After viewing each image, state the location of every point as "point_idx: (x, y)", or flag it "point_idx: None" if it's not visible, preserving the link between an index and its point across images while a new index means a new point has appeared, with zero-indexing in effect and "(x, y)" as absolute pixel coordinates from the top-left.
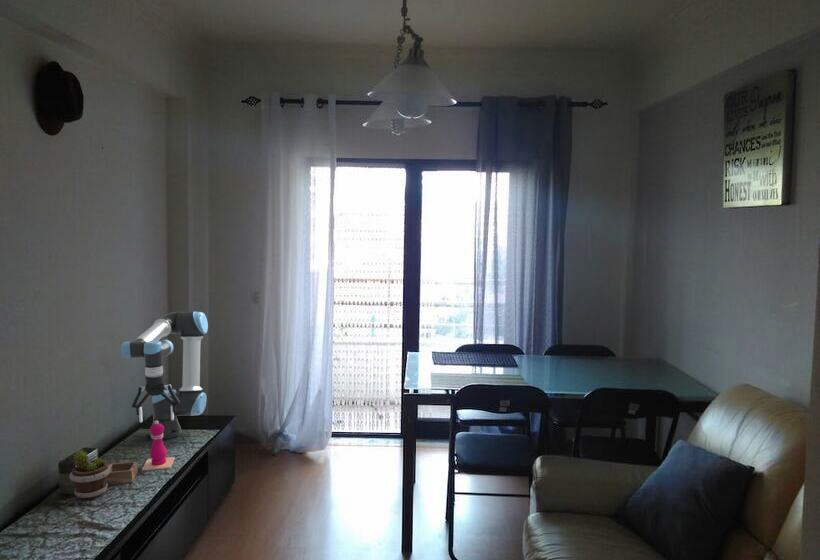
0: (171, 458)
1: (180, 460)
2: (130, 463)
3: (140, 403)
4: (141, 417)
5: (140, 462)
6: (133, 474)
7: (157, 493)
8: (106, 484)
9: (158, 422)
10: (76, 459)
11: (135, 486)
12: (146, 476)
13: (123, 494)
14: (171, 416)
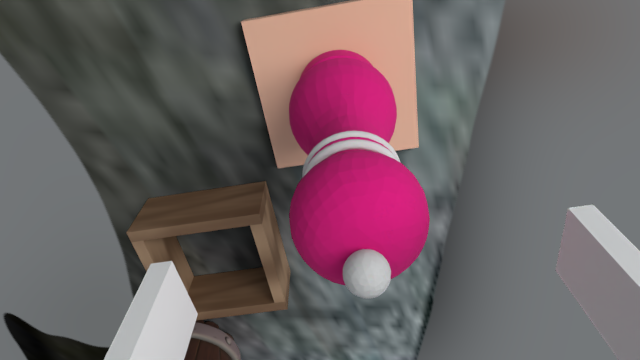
0: (397, 19)
1: (453, 25)
2: (231, 226)
3: None
4: (173, 352)
5: (209, 42)
6: (282, 264)
7: (420, 345)
8: (230, 355)
9: (390, 273)
10: None
11: (320, 300)
12: None
13: (305, 346)
14: (590, 312)
